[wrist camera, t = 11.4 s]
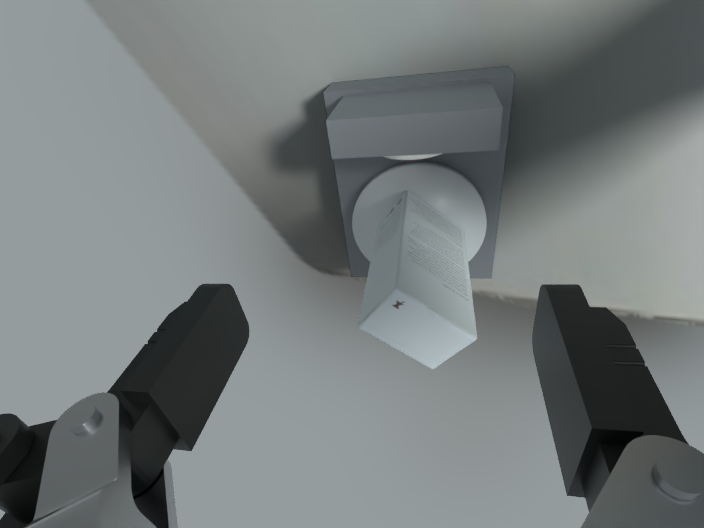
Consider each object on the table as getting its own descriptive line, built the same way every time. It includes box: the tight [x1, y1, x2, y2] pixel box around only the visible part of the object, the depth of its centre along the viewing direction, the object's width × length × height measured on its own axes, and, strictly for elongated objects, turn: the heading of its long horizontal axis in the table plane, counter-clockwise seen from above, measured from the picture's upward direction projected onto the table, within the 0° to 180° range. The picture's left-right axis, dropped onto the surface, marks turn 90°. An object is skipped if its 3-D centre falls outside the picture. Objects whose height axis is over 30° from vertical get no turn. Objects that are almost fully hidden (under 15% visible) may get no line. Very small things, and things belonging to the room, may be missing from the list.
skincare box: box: [358, 190, 477, 369], centre depth 28 cm, size 6×4×12 cm
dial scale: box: [323, 66, 515, 278], centre depth 31 cm, size 13×17×9 cm
